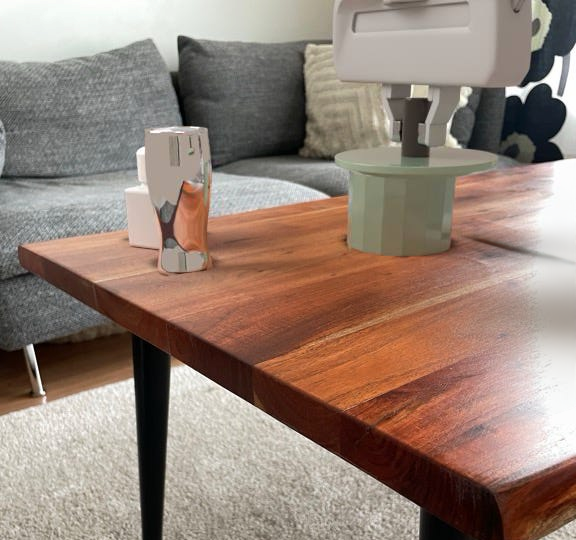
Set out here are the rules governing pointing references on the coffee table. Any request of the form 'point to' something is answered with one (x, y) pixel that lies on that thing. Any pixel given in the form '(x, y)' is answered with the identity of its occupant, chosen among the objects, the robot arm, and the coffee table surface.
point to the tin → (400, 215)
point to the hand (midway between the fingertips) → (416, 144)
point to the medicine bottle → (141, 210)
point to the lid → (415, 153)
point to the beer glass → (180, 195)
